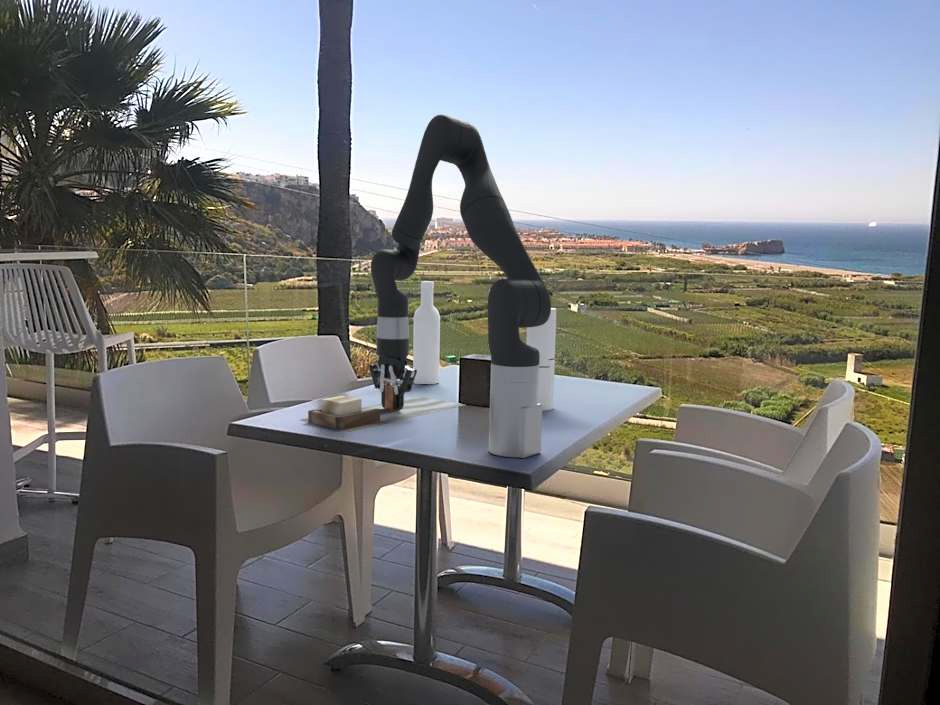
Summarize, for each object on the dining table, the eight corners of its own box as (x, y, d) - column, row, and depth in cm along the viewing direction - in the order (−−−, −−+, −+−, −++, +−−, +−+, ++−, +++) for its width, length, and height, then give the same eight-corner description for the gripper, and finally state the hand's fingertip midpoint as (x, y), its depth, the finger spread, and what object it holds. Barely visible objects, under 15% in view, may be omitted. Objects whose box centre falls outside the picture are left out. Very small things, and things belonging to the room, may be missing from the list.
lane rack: (466, 407, 185) (466, 394, 185) (349, 435, 155) (349, 419, 154) (418, 399, 195) (418, 387, 195) (299, 423, 165) (299, 408, 164)
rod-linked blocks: (405, 412, 175) (405, 386, 174) (340, 425, 159) (340, 398, 159) (386, 408, 179) (387, 383, 178) (322, 421, 163) (322, 394, 162)
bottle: (416, 380, 226) (417, 280, 222) (441, 381, 224) (443, 281, 221) (409, 384, 218) (410, 281, 214) (436, 385, 217) (437, 282, 213)
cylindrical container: (558, 408, 187) (562, 308, 184) (540, 411, 182) (543, 309, 179) (537, 403, 192) (540, 307, 189) (518, 407, 187) (521, 307, 184)
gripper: (426, 337, 172) (425, 410, 174) (382, 332, 181) (382, 402, 183) (403, 339, 166) (403, 415, 169) (360, 334, 175) (359, 406, 177)
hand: (392, 408), depth 176 cm, fingers open, 3 cm apart
